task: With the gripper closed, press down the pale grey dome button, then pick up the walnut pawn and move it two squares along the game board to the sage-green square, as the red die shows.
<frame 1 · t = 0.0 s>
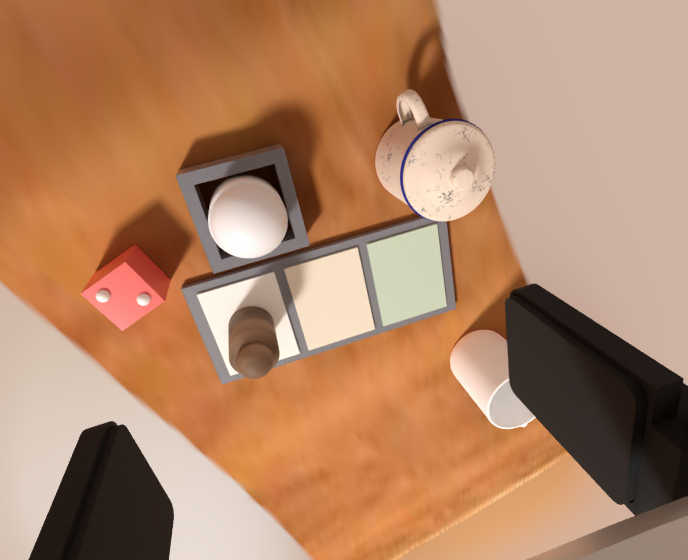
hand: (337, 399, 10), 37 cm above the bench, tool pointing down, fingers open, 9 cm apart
red die: (133, 276, 45), on the bench
dome housing: (246, 205, 45), on the bench
game board: (330, 296, 51), on the bench
teacup with lid: (407, 145, 46), on the bench
dome: (248, 220, 40), point 6 cm above the bench, slide at 0.0 cm
pawn: (251, 326, 49), point 1 cm above the bench, touching game board
cup: (479, 362, 61), on the bench
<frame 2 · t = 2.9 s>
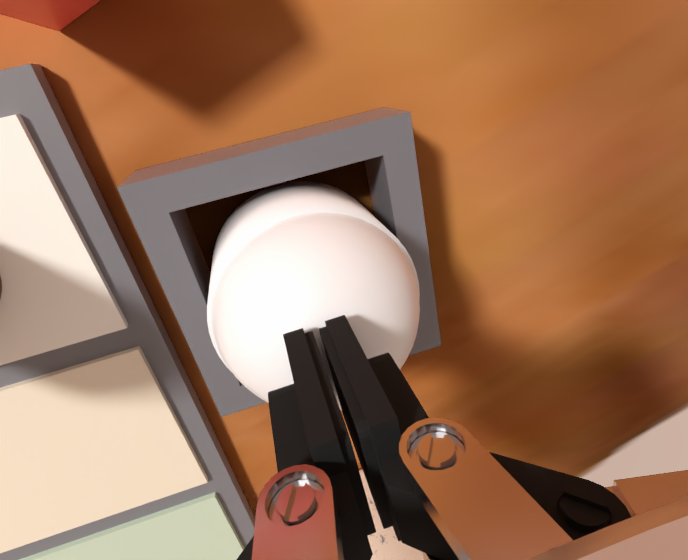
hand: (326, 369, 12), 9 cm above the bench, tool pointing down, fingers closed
dome housing: (296, 252, 19), on the bench
game board: (62, 443, 21), on the bench
teacup with lid: (391, 498, 28), on the bench
dome: (316, 306, 15), point 5 cm above the bench, slide at 0.3 cm, touching gripper
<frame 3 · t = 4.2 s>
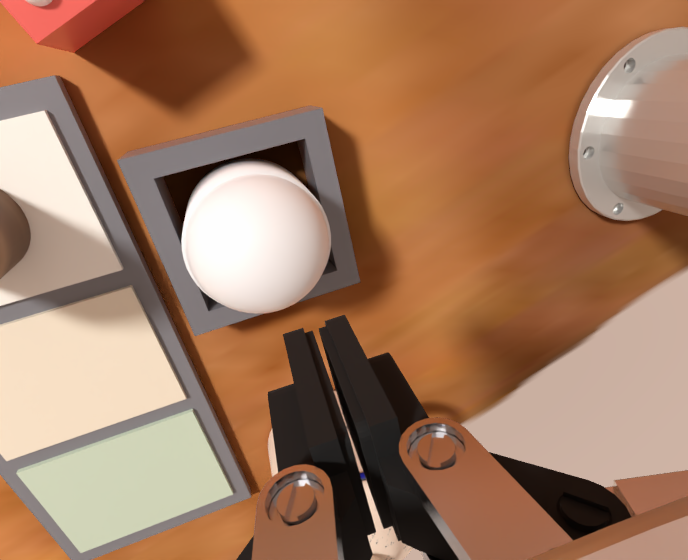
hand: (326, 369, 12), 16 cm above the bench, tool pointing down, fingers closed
dome housing: (249, 214, 26), on the bench
game board: (71, 367, 27), on the bench
teacup with lid: (338, 422, 34), on the bench
dome: (258, 242, 21), point 5 cm above the bench, slide at 0.2 cm
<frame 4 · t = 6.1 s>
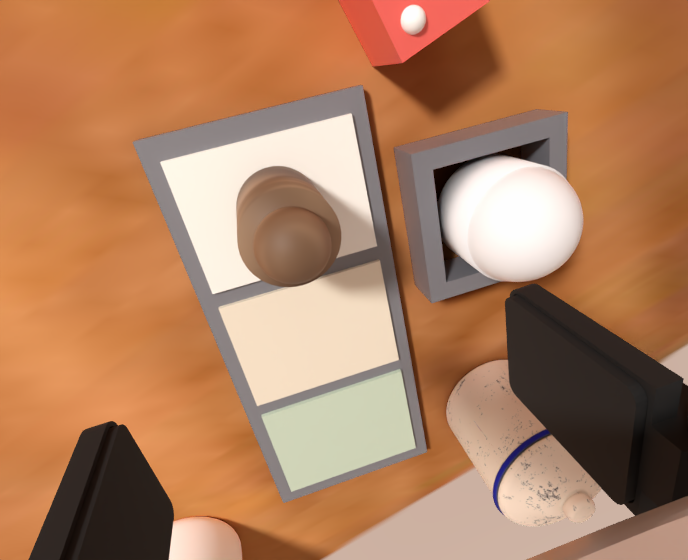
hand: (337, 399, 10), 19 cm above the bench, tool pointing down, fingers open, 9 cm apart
dome housing: (472, 201, 30), on the bench
game board: (313, 328, 32), on the bench
teacup with lid: (502, 389, 39), on the bench
dome: (516, 223, 26), point 5 cm above the bench, slide at 0.2 cm
pawn: (278, 208, 26), point 1 cm above the bench, touching game board
cup: (174, 556, 38), on the bench
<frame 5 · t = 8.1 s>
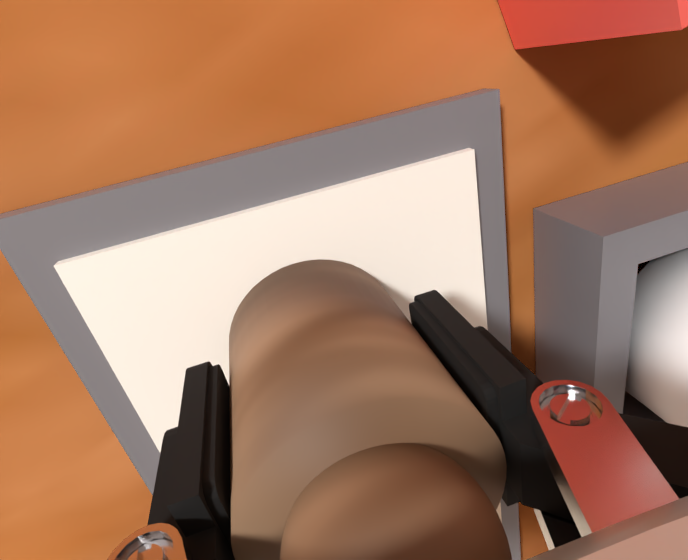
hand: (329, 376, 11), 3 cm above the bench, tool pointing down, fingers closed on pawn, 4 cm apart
dome housing: (649, 294, 17), on the bench
game board: (364, 509, 18), on the bench
pawn: (315, 338, 13), point 1 cm above the bench, touching game board, gripper
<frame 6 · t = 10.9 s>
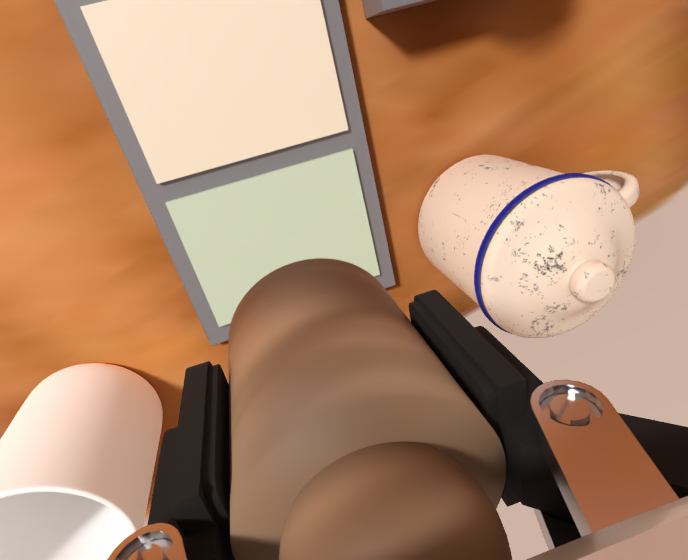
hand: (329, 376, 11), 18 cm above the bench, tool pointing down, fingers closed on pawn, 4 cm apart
game board: (229, 75, 23), on the bench
teacup with lid: (490, 206, 31), on the bench
pawn: (315, 337, 13), point 16 cm above the bench, touching gripper
cup: (76, 422, 30), on the bench
when the fingers open (5 cm above the bench, at t = 13.9 s): pawn drops 2 cm, resting on game board.
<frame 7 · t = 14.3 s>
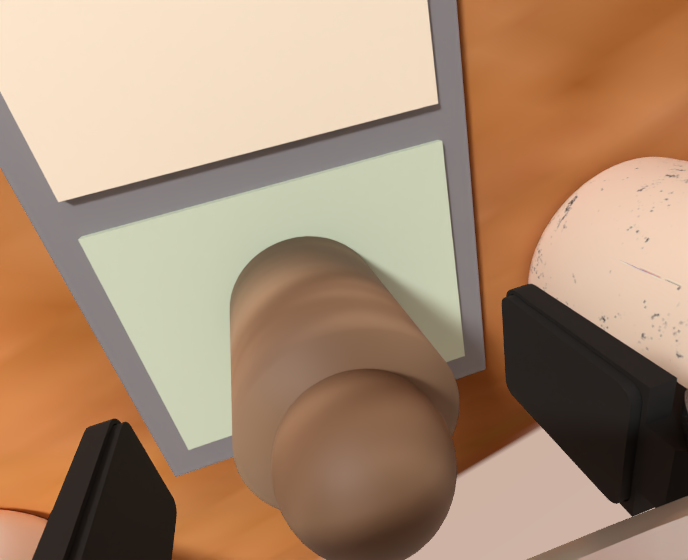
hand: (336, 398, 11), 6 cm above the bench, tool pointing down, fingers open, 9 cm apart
teacup with lid: (638, 241, 19), on the bench
pawn: (306, 307, 15), point 1 cm above the bench, touching game board
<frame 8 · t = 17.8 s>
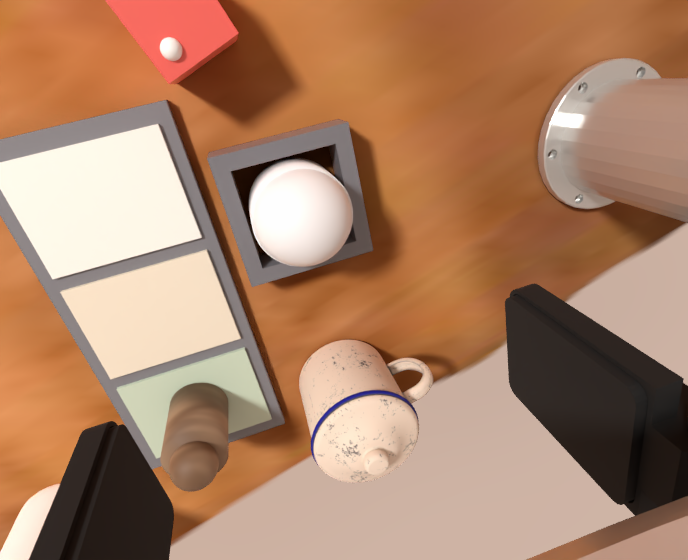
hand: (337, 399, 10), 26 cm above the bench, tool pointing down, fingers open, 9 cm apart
red die: (181, 26, 29), on the bench
dome housing: (292, 199, 35), on the bench
game board: (158, 310, 36), on the bench
teacup with lid: (354, 367, 43), on the bench
dome: (302, 216, 30), point 5 cm above the bench, slide at 0.2 cm
pawn: (199, 405, 39), point 1 cm above the bench, touching game board
cup: (56, 519, 42), on the bench
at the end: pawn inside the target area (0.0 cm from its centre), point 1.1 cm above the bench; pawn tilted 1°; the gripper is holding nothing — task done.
